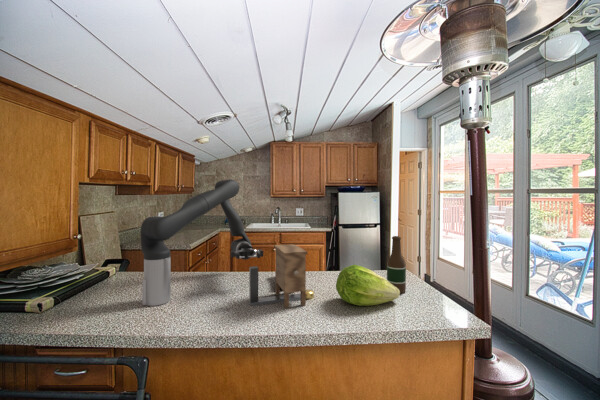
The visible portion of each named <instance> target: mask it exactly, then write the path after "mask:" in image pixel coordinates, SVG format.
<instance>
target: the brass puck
mask: <svg viewBox="0 0 600 400" xmlns="http://www.w3.org/2000/svg"><path fill="white" fill-rule="evenodd" d="M314 295H315V291H314V290H313V289H306V300H307V301H308V300H309V301H310V300H313V299H314V297H315V296H314Z"/></svg>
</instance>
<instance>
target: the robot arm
mask: <svg viewBox="0 0 600 400" xmlns="http://www.w3.org/2000/svg"><path fill="white" fill-rule="evenodd" d="M239 191H240V185H239V182H238V181H236V180H234V179H230V178H229V179H223V180H219V181H216V183H215V185H214V188H213V189H211V190H207V191H203V192H201V193H198V194H196V195H194V196H192V197H190V198H189V199H187V200H186V201H185V202H183V204H182V206H181V207H180V209H178V210H176V211H174V212H173V213H171V214H168V215H165V216H153V215H151V216H148V217H145V219H144V220H143V221H142V223H141V226H140V247H141V252H142V254H143V279H142V284H141V285H142V286H141V288H142V290H141V291H142V296H141V297H142V306H148V307H152V306H153V307H154V306H161V305H164V304H168V303H169V302H170V301H171V292H172V291H171V285H172V284H171V281H172V280H171V279H172V278H171V270H172V269H171V268H172V267H171V265H172V264H171V249H170V248H169V247H167V245H166V244H165V242H164V241H167V240H169V239H171V238H172V237H173V236H175V235H176V234H178V233H179V232H180V231H181V230H182V229H184V227H186V226H187V225H189V224H191V223H192V222H194V221H195V220H197V219H199V218H201V217H202V216H204V215H205V214H208V213H209V212H210V211H212V210H213V209H215V208H216V207H217V206H219V205H220V206H221V208H222V211H223V213H224V214H225V217H226V221H227V224H228V228H229V231H230V234H231V235H230V236H232V237H241V238H238V239H235V240H232V241H231V244H230V249H231V250H230V258H231V259H234V258H236V259H237V260H245V261H246V260H250V259H251V258H257V259H260V258H261V257H264V250H263V249H261V248H258V249H256V248H255V249H254V247H253V246H252V241H251V240H250V239H249V236H248V235H247V233H246V231H245V228H244V225H243V222H242V218H241V216H240V215H239V213H238V212H237V211H236V209H235V208H234V207H233V205H232V203H231V200H230V199H232V198H234V197H235V196H237V195H238V194H239Z"/></svg>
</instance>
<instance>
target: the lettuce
mask: <svg viewBox="0 0 600 400" xmlns="http://www.w3.org/2000/svg"><path fill="white" fill-rule="evenodd" d="M335 290H336V291H337V294H338V296H339V297H340V298H341V301H344V302H347V303H348V304H351V305H356V306H360V307H365V306H367V307H368V306H377V305H381V304H385V303H389V302H392V301H395V300H397V299H399V297H400V295H401V294H400V291H399V289H398V288H397V287H395V286H394V285H392V284H391V283H390V282H389V281H387V278H385V277H384V276H382V275H379V274H378V273H376V272H374V271H373V270H371V269H369V268H366V267H364V266H361V265H357V264H351V265H348V266H345V267H344V268H343V269H341V270H340V271H339V273H338V276H337V278H336V284H335Z"/></svg>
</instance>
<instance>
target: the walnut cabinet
mask: <svg viewBox="0 0 600 400" xmlns="http://www.w3.org/2000/svg"><path fill="white" fill-rule="evenodd" d="M273 248H274V249H275V270H276V274H275V289H274V290H275V292H274V294H275V296H280V294H281V293H280V292H281V291H280V287H281V288H282V290H283V291H282V292H283V295H284V302H283V307H284V309H289V308H290V301H289V295H290V294H296V293H299V292H300V294H301V300H300V305H301V307H303V306H304V307H305V306H306V290H307V289H306V288H307V287H306V282H307V281H306V278H307V277H306V275H307V273H306V271H307V270H306V269H307V268H306V267H307V266H306V265H307V264H306V263H307V260H306V259H307V258H306V257H307V256H306V255H308V250H305V249H304V248H303V247H300V246H298V245H296V244H290V243H289V244H275V245H274V246H273Z"/></svg>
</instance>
